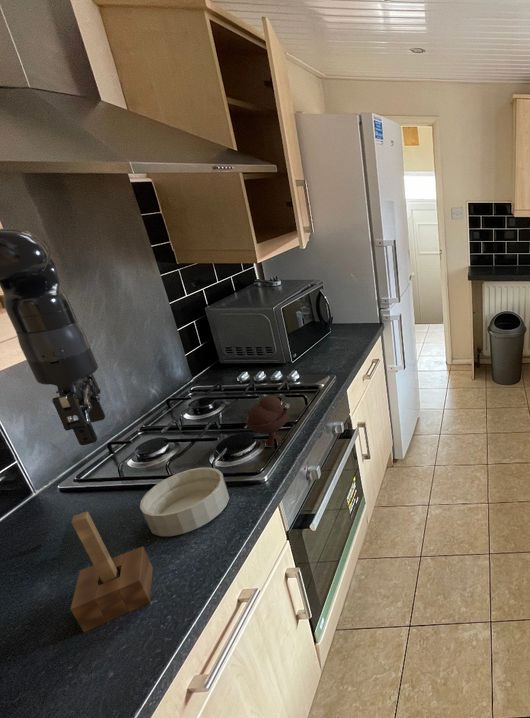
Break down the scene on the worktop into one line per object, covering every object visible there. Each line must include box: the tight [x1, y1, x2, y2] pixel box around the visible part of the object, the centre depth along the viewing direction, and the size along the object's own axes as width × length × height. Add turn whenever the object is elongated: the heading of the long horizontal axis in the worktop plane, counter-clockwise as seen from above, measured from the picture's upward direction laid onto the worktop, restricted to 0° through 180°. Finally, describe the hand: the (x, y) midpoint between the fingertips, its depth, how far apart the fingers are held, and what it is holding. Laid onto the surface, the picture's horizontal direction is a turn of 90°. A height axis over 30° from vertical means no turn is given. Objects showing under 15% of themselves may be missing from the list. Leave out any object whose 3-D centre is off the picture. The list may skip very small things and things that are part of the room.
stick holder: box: [70, 545, 154, 633], centre depth 77 cm, size 9×9×6 cm
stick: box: [71, 511, 120, 584], centre depth 74 cm, size 2×2×20 cm
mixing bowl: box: [139, 467, 230, 537], centre depth 96 cm, size 15×15×6 cm
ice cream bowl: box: [244, 395, 289, 446], centre depth 119 cm, size 11×11×15 cm
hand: (93, 431), depth 76 cm, fingers open, 8 cm apart
